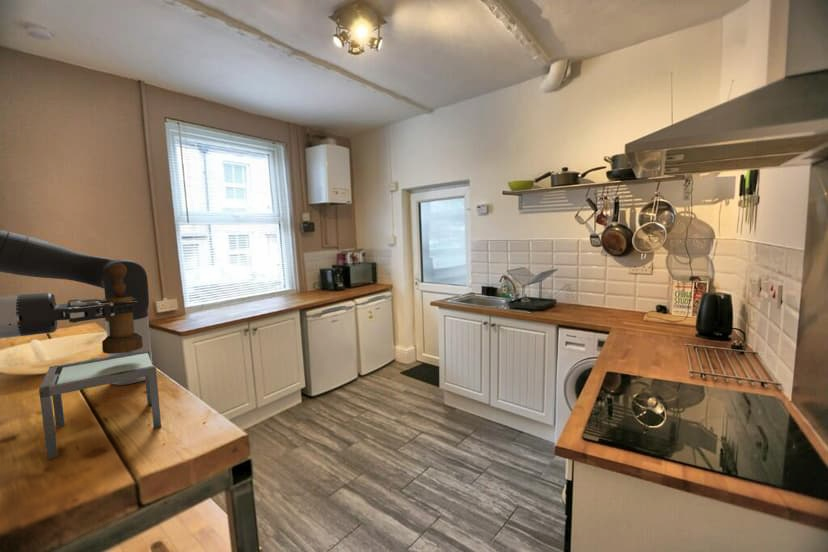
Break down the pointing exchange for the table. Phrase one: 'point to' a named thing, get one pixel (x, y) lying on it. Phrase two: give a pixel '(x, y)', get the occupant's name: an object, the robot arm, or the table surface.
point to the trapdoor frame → (55, 390)
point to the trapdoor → (103, 368)
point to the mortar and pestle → (120, 317)
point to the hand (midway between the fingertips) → (137, 305)
